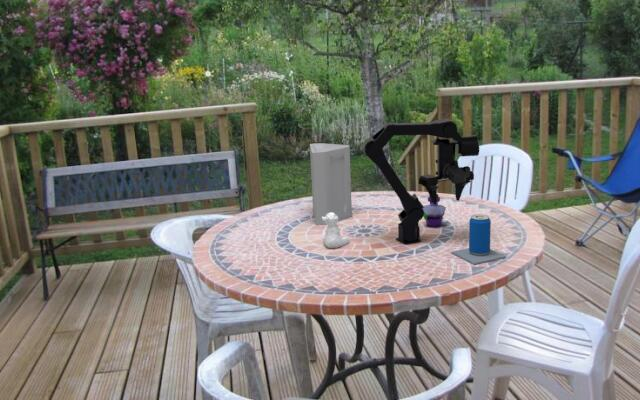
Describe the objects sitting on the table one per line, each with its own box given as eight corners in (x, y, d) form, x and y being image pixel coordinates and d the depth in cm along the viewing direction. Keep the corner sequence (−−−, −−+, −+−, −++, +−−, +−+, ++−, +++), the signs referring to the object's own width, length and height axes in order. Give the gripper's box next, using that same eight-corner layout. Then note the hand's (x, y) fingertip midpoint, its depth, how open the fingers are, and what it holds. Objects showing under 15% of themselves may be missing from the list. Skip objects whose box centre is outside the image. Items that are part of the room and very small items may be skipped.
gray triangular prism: (354, 223, 242) (352, 150, 235) (315, 225, 241) (312, 152, 234) (349, 209, 260) (346, 141, 253) (313, 211, 260) (309, 143, 252)
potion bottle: (417, 225, 235) (416, 194, 232) (432, 220, 240) (432, 189, 237) (435, 230, 229) (435, 198, 226) (450, 225, 234) (450, 193, 231)
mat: (474, 265, 194) (474, 263, 194) (451, 253, 205) (451, 251, 205) (505, 258, 199) (506, 256, 199) (481, 247, 210) (481, 245, 209)
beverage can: (486, 248, 206) (487, 213, 203) (492, 255, 200) (493, 219, 197) (466, 250, 206) (467, 214, 203) (472, 256, 200) (472, 220, 196)
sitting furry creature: (350, 242, 221) (349, 208, 218) (344, 250, 213) (343, 216, 210) (324, 240, 223) (322, 208, 220) (317, 249, 215) (315, 215, 212)
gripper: (436, 164, 201) (436, 212, 205) (484, 157, 208) (483, 203, 212) (417, 159, 211) (417, 204, 215) (464, 152, 218) (463, 196, 222)
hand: (446, 202), depth 216 cm, fingers open, 9 cm apart
